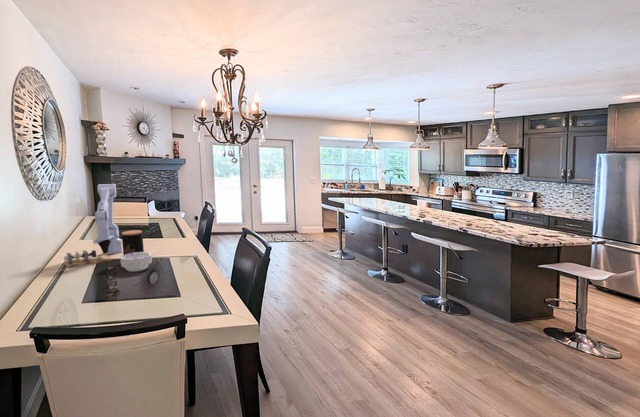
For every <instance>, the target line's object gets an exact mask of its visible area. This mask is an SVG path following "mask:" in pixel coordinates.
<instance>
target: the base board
mask: <svg viewBox="0 0 640 417" xmlns="http://www.w3.org/2000/svg"><path fill="white" fill-rule="evenodd" d="M79 259H80V262H77V261H76V259H72V264H69V263H68V262H67V260H64V261H63V263H64V265H65V267H66V268H68V269H69V268H75V267H77V268H78V267H82V266H87V265H95V264H100V263H106V262H112V257H110V256H109V255H106V254H102V255H96V257H92V256H88V260H89V261H85V260H83V257H81V258H79Z"/></svg>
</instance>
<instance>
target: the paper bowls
mask: <svg viewBox="0 0 640 417" xmlns="http://www.w3.org/2000/svg"><path fill="white" fill-rule="evenodd" d="M119 259H120V266H121V267H122V268H125V270H126V271H128V272H133V273H134V272H141V271H144V270H146V269H147V268H148V266H149V265H150V264H152V263H153V262H152V259H153V258H152V253H150V252H147V251H144V252H135V253H129V254H125V255H123V254H122V255H121V256H120V257H119Z"/></svg>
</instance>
